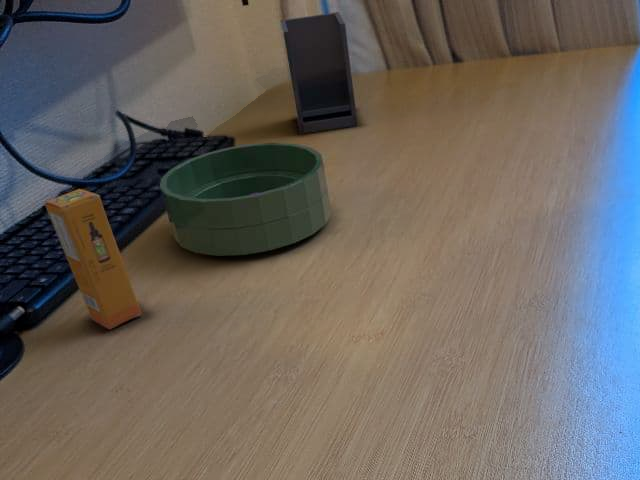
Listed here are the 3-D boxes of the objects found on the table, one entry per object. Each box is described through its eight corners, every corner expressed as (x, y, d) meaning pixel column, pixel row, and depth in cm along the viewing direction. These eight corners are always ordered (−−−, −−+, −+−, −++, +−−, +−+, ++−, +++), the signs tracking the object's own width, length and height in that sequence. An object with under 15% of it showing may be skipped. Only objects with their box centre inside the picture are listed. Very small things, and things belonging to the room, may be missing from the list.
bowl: (180, 212, 85) (164, 157, 82) (324, 189, 86) (315, 134, 83) (173, 272, 74) (154, 211, 70) (338, 246, 75) (329, 184, 71)
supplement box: (123, 304, 70) (81, 185, 64) (143, 316, 68) (102, 193, 62) (88, 319, 69) (41, 198, 62) (107, 332, 67) (61, 208, 60)
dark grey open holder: (296, 118, 107) (280, 20, 99) (351, 110, 107) (338, 11, 100) (300, 134, 101) (283, 32, 94) (357, 125, 102) (345, 23, 94)
